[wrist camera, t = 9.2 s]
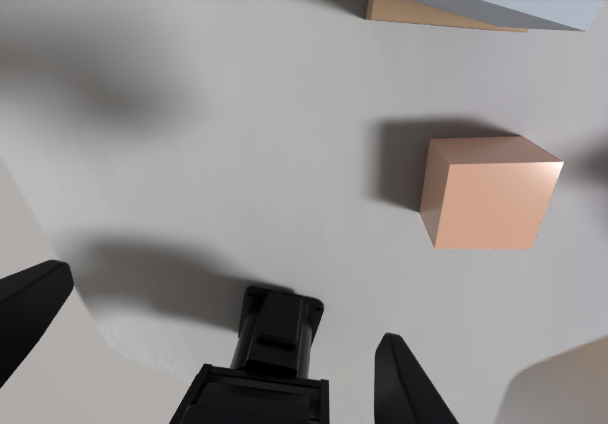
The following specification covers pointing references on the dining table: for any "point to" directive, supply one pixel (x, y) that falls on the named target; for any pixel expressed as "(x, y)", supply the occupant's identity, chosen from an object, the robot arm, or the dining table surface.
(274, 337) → the robot arm
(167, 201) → the dining table surface
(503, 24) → the slate cube
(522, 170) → the terracotta cube
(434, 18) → the walnut block
